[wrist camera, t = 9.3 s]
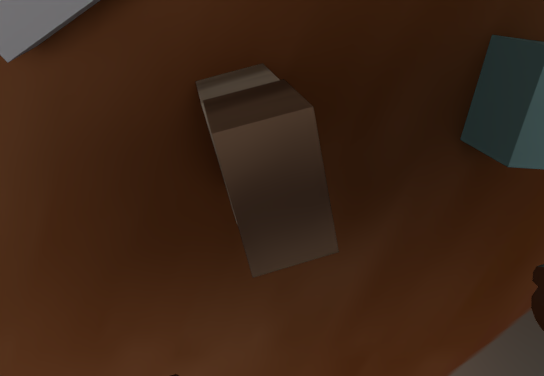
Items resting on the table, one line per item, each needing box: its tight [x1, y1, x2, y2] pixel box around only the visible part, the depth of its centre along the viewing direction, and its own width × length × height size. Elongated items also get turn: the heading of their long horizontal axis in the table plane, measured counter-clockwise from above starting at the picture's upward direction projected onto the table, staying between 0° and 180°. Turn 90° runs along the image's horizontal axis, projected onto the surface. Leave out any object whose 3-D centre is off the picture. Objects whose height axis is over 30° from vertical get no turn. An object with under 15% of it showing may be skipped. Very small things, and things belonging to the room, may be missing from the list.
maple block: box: [196, 63, 279, 223], centre depth 23 cm, size 6×4×4 cm, turn 13°
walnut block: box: [203, 79, 339, 277], centre depth 19 cm, size 6×4×4 cm, turn 12°
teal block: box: [460, 35, 544, 169], centre depth 25 cm, size 6×4×4 cm, turn 172°
